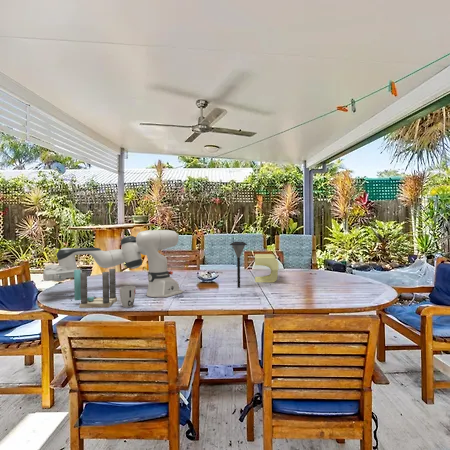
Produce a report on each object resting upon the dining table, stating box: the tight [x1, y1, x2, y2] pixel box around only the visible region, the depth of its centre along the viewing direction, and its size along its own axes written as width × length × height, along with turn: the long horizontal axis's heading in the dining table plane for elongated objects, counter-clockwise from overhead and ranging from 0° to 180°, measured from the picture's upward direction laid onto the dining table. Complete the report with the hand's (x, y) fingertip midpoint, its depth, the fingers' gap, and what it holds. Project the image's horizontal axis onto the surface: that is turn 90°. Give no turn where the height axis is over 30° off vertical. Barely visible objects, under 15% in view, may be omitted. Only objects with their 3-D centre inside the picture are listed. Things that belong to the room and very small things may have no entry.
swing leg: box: [73, 269, 95, 301], centre depth 186 cm, size 11×3×16 cm, turn 76°
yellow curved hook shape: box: [254, 253, 280, 283], centre depth 253 cm, size 30×16×18 cm, turn 175°
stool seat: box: [78, 268, 118, 309], centre depth 188 cm, size 16×16×18 cm
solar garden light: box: [229, 241, 248, 289], centre depth 228 cm, size 12×12×30 cm
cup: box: [119, 285, 136, 309], centre depth 182 cm, size 8×8×10 cm
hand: (68, 275), depth 195 cm, fingers open, 8 cm apart
